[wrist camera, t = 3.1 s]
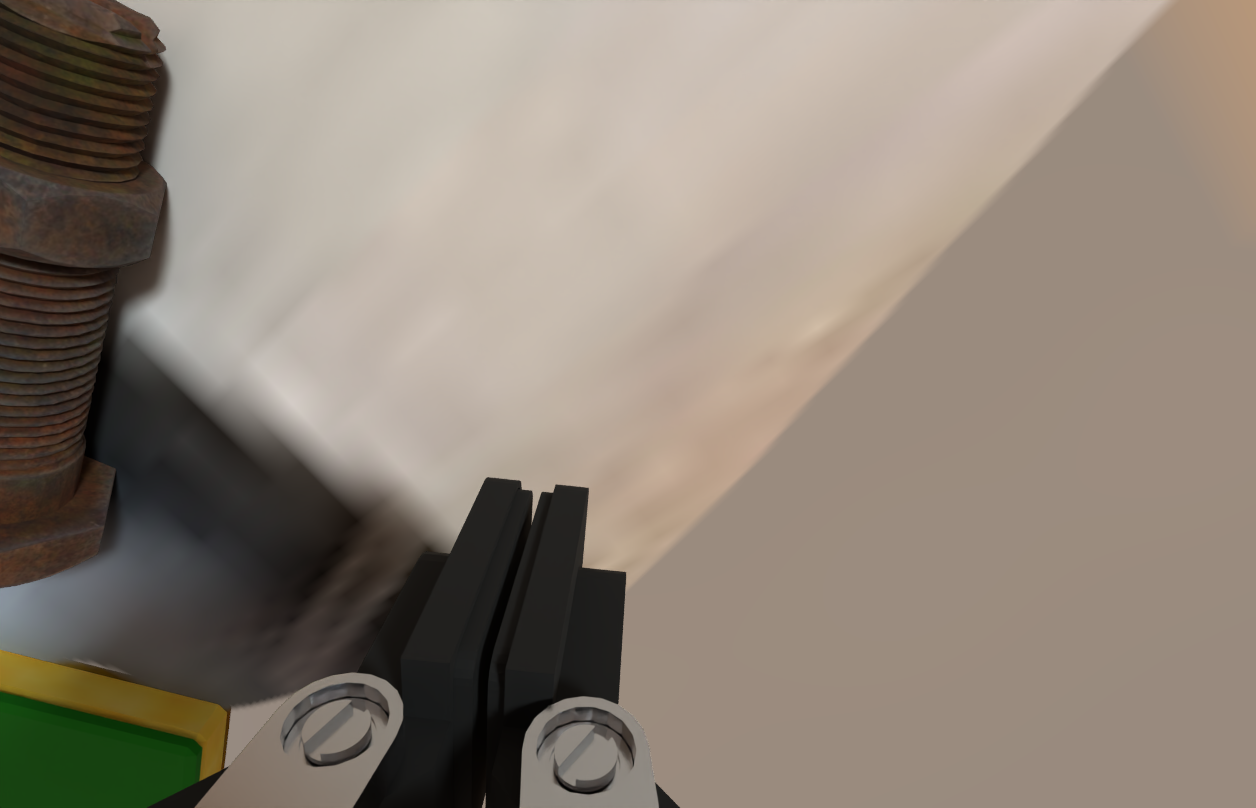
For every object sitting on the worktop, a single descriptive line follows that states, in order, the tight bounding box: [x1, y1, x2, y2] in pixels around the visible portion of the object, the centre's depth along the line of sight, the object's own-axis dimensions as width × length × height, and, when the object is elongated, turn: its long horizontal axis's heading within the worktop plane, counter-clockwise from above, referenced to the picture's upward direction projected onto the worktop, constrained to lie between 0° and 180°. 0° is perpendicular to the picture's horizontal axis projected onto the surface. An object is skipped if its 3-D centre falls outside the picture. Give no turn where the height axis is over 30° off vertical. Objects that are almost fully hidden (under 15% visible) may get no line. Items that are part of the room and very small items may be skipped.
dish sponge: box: [0, 650, 231, 808], centre depth 25 cm, size 7×14×2 cm, turn 71°
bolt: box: [0, 0, 167, 588], centre depth 17 cm, size 6×5×15 cm
